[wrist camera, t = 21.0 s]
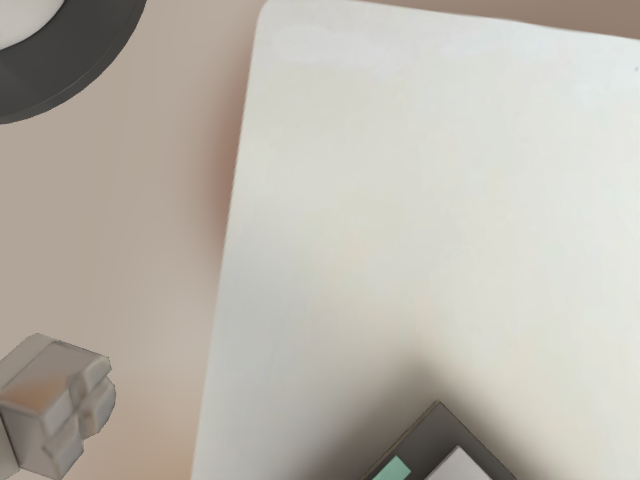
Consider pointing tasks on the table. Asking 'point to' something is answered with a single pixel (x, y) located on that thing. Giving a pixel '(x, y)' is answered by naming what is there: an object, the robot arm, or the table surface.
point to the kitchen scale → (438, 453)
